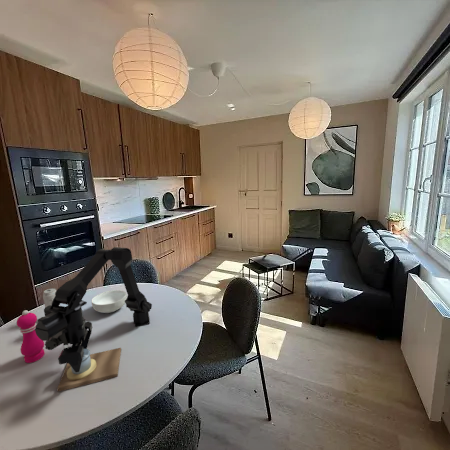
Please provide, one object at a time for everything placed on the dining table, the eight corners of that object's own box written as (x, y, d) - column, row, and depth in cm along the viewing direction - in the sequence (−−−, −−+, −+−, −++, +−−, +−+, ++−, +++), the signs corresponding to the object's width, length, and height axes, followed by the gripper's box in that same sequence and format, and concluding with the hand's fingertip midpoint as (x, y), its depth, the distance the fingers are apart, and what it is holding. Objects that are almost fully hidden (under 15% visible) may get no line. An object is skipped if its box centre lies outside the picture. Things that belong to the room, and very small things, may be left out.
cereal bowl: (134, 305, 133) (133, 293, 132) (105, 321, 119) (103, 308, 118) (115, 298, 142) (113, 287, 141) (86, 312, 128) (84, 299, 127)
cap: (93, 359, 91) (91, 347, 90) (89, 371, 85) (87, 358, 84) (73, 363, 89) (71, 351, 88) (68, 376, 83) (66, 363, 82)
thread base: (121, 350, 98) (120, 345, 98) (117, 376, 85) (116, 370, 85) (69, 362, 93) (68, 356, 93) (57, 391, 80) (56, 386, 79)
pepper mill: (31, 351, 100) (21, 306, 96) (50, 350, 100) (41, 304, 96) (18, 365, 93) (7, 316, 89) (38, 363, 93) (28, 314, 89)
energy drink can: (53, 322, 120) (48, 293, 117) (44, 320, 122) (39, 292, 119) (64, 315, 126) (59, 288, 123) (56, 314, 128) (51, 287, 125)
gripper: (55, 312, 90) (62, 350, 93) (34, 344, 72) (44, 390, 75) (89, 306, 93) (95, 343, 96) (77, 336, 76) (84, 379, 79)
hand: (80, 362), depth 86 cm, fingers open, 9 cm apart
